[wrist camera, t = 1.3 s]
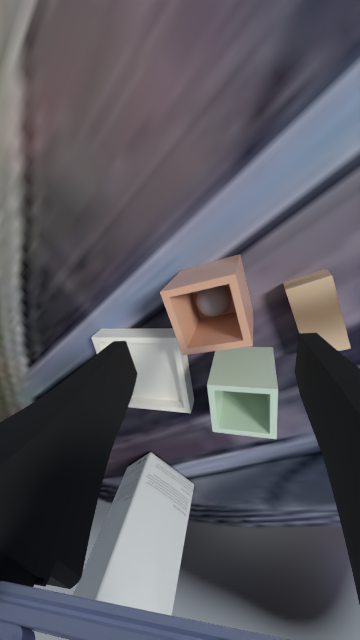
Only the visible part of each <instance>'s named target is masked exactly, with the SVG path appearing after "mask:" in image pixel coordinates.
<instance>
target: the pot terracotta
mask: <svg viewBox="0 0 360 640" xmlns="http://www.w3.org/2000/svg"><path fill="white" fill-rule="evenodd" d="M217 286H223V287H224V288H225V289H226V290H227V291H228V293H229V296H230V303H229V306H228V308H227V310H226V311H225V312H224V313H223V314H221V315H219V316H215V317H210V316H207V315H205V314H203V313H202V312H201V311H200V310H199V308H198V306H197V301H196V299H197V295H198V292H199V291H200V290H204V289H208V288H213V287H217ZM160 294H161V297H162V299H163V302H164V305H165V308H166V310H167V313H168V316H169V319H170V321H171V324H172V327H173V330H174V332H175V335H176V338H177V340H178V343H179V346H180V349H181V351H182V354H183V355H188V354H196V353H203V352H211V351H218V350H226V349H234V348H241V347H249V346H253V309H252V305H251V300H250V296H249V292H248V287H247V283H246V278H245V274H244V270H243V265H242V261H241V256H240V254H239V255H236V256H232V257H228V258H224V259H221V260H217V261H213V262H210V263H206V264H202V265H198V266H195V267H191V268H187V269H183V270H180V272H179V273H178V274H177V275H176V276H175V277H174V278H173V279H172V280H171V281H170V282H169V283H168V284H167V285H166V286H165V287H164V288H163V289H162V290H161V291H160Z"/></svg>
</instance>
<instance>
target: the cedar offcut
mask: <svg viewBox="0 0 360 640" xmlns="http://www.w3.org/2000/svg"><path fill="white" fill-rule="evenodd" d="M283 284H284V288H285V291H286V294H287V297H288V300H289V303H290V306H291V309H292V312H293V315H294V318H295V321H296V324H297V328H298V331H299V333H318V334H319V335H320V336H321V337H322V338H323V339H325V340H326V341H327V342H328V343H329V344H330V345H331V346H333V347H334V348H335V349H336V350H337V351H340V350H345V349H350V344H349V340H348V336H347V332H346V328H345V324H344V320H343V316H342V312H341V308H340V304H339V301H338V297H337V293H336V289H335V285H334V281H333V277H332V275H331V274H330V273H329V271H328V270H327V269H323V270H320V271H317V272H314V273H311V274H308V275H305V276H302V277H299V278H296V279H293V280H290V281H287V282H284V283H283Z"/></svg>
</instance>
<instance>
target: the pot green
mask: <svg viewBox="0 0 360 640" xmlns="http://www.w3.org/2000/svg"><path fill="white" fill-rule="evenodd" d="M207 389H208V397H209V405H210V413H211V421H212V429H213V432H219V433H228V434H236V435H245V436H253V437H262V438H270V439H277V405H278V386H277V377H276V369H275V361H274V353H273V347H241V348H234V349H226V350H218V351H215V354H214V358H213V362H212V366H211V370H210V375H209V379H208V383H207Z"/></svg>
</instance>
